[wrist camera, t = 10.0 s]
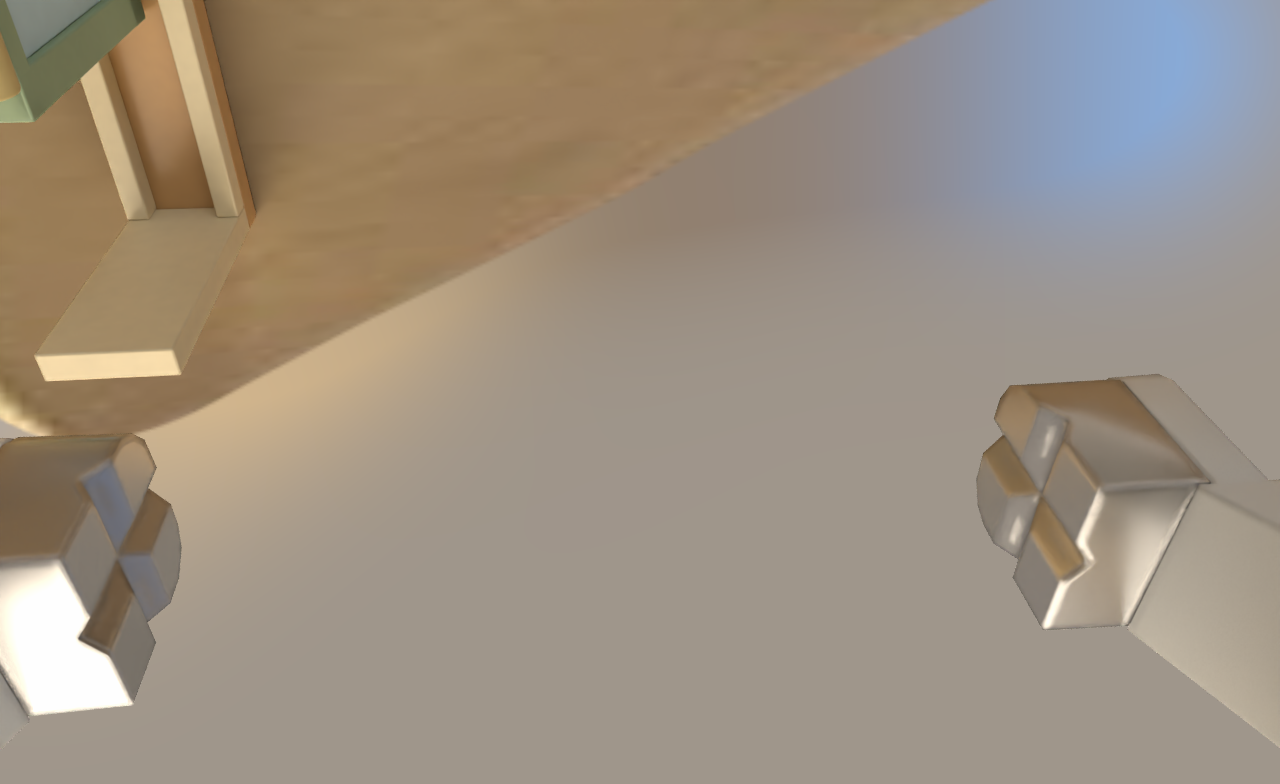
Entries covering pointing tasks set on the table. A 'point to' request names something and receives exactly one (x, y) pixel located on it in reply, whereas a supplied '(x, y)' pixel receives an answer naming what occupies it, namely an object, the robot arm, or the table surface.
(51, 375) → the window frame
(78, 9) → the cylinder
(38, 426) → the table surface
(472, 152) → the table surface
